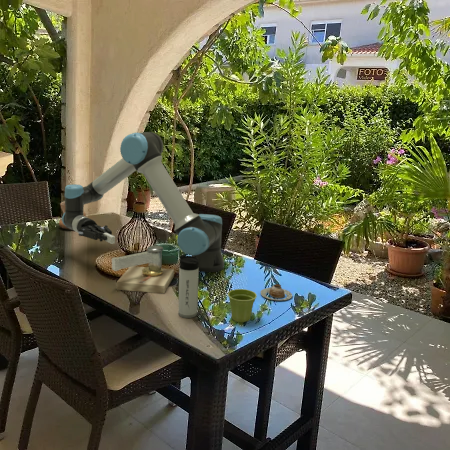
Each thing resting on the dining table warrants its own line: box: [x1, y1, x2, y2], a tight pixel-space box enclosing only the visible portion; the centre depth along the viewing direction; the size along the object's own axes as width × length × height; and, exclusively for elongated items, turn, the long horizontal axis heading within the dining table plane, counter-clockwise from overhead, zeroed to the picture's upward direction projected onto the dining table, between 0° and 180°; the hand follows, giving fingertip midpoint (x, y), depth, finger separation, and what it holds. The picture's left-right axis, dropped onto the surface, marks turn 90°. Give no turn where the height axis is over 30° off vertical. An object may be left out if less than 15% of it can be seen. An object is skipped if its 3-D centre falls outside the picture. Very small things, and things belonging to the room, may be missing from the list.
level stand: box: [116, 266, 175, 294], centre depth 180 cm, size 18×18×3 cm
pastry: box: [260, 283, 293, 301], centre depth 174 cm, size 12×12×5 cm
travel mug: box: [177, 254, 200, 319], centre depth 153 cm, size 6×7×20 cm
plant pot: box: [227, 288, 258, 323], centre depth 152 cm, size 9×9×9 cm
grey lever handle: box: [111, 245, 164, 276], centre depth 176 cm, size 21×8×10 cm, turn 133°
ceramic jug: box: [58, 200, 87, 231], centre depth 250 cm, size 18×14×14 cm
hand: (113, 240), depth 177 cm, fingers closed
